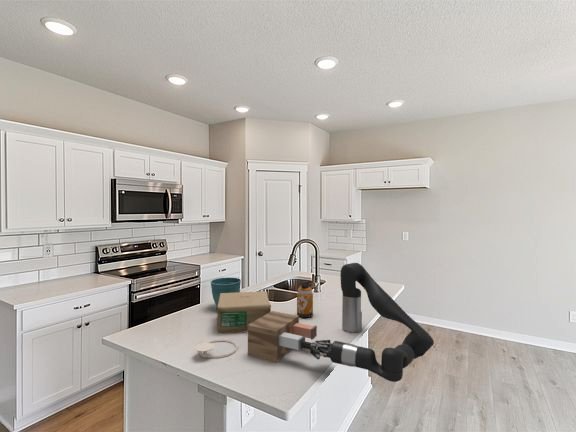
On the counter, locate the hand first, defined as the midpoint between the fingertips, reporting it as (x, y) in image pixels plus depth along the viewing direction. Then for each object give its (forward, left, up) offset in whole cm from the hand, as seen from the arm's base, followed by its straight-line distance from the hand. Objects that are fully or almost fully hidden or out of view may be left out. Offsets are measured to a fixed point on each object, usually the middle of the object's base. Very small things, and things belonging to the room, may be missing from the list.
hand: (302, 344), depth 124 cm
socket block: (+12, -13, -8) cm, 19 cm away
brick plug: (+2, -15, -2) cm, 15 cm away
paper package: (+31, -42, -8) cm, 53 cm away
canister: (-1, -56, -8) cm, 56 cm away
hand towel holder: (+38, -10, -8) cm, 40 cm away
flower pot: (+47, -65, -8) cm, 80 cm away
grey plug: (+7, -4, -2) cm, 8 cm away
